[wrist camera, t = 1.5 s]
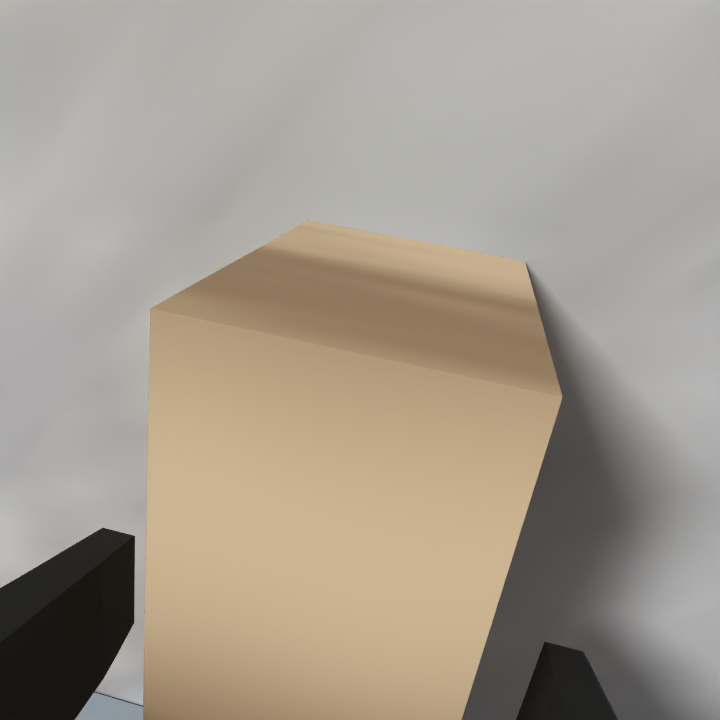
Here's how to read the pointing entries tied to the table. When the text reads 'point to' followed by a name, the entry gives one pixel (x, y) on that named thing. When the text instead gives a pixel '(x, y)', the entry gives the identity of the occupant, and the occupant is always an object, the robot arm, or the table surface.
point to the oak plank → (337, 477)
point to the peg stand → (109, 709)
